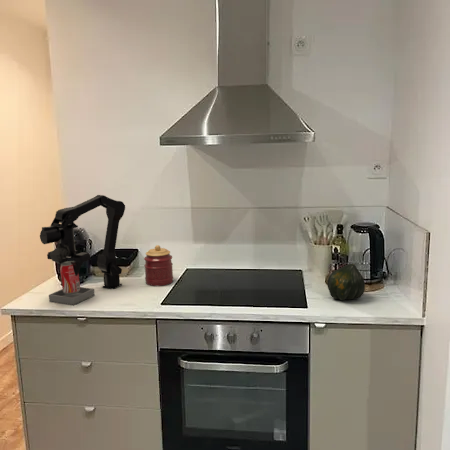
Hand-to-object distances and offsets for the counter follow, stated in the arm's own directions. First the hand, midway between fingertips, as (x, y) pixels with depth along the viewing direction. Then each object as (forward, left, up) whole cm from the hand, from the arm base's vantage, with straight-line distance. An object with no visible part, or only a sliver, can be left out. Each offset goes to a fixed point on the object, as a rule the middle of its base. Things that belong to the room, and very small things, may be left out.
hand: (70, 275), depth 200 cm
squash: (-107, -40, -10) cm, 115 cm away
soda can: (0, 0, -8) cm, 8 cm away
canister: (-23, -32, -10) cm, 41 cm away
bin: (0, 0, -10) cm, 10 cm away
